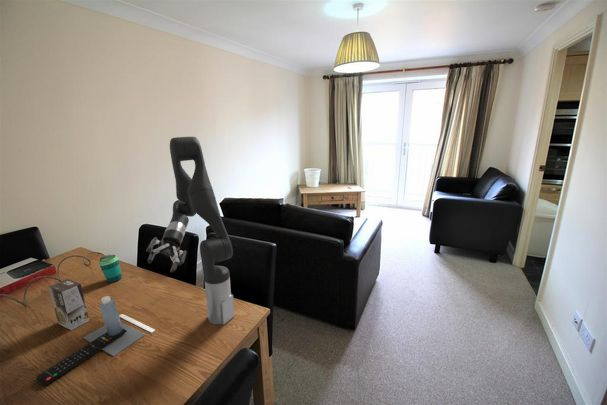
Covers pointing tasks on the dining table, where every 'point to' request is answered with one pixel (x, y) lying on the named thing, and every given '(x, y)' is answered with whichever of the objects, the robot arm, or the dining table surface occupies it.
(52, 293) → the coffee box
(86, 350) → the remote control
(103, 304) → the slim bottle
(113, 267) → the cup
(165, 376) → the dining table surface
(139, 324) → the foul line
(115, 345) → the mat
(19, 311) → the dining table surface
